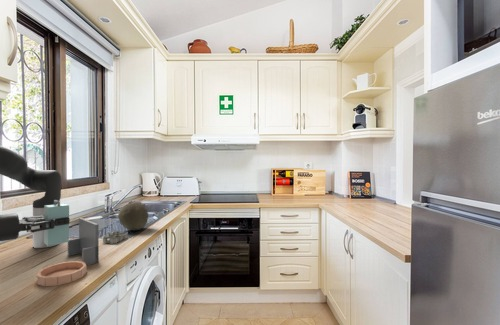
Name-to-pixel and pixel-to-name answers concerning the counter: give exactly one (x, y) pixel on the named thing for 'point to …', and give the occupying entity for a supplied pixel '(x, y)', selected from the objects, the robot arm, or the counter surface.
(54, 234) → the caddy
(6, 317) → the counter surface
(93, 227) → the screen
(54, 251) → the counter surface
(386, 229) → the counter surface
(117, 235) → the miniature stone ruin
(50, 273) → the dish
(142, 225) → the cantaloupe
